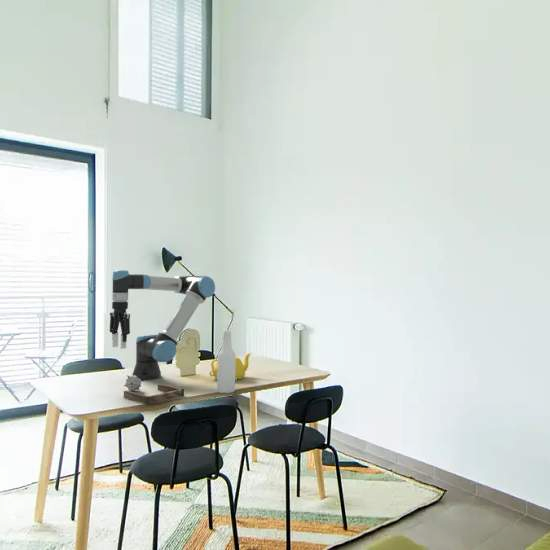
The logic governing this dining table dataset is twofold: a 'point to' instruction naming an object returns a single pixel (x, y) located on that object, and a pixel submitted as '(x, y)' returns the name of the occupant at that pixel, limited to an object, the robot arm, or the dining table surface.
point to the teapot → (239, 367)
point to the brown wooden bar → (169, 394)
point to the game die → (133, 383)
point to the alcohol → (226, 365)
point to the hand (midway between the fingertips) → (119, 347)
